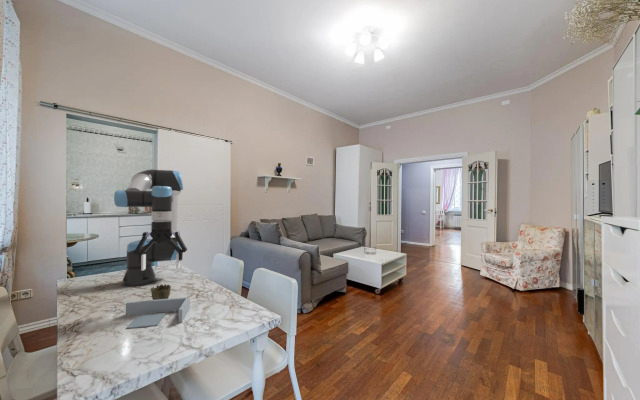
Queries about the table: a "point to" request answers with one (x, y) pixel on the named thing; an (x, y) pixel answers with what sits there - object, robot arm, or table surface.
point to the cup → (160, 292)
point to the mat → (146, 320)
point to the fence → (159, 306)
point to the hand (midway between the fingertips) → (161, 268)
